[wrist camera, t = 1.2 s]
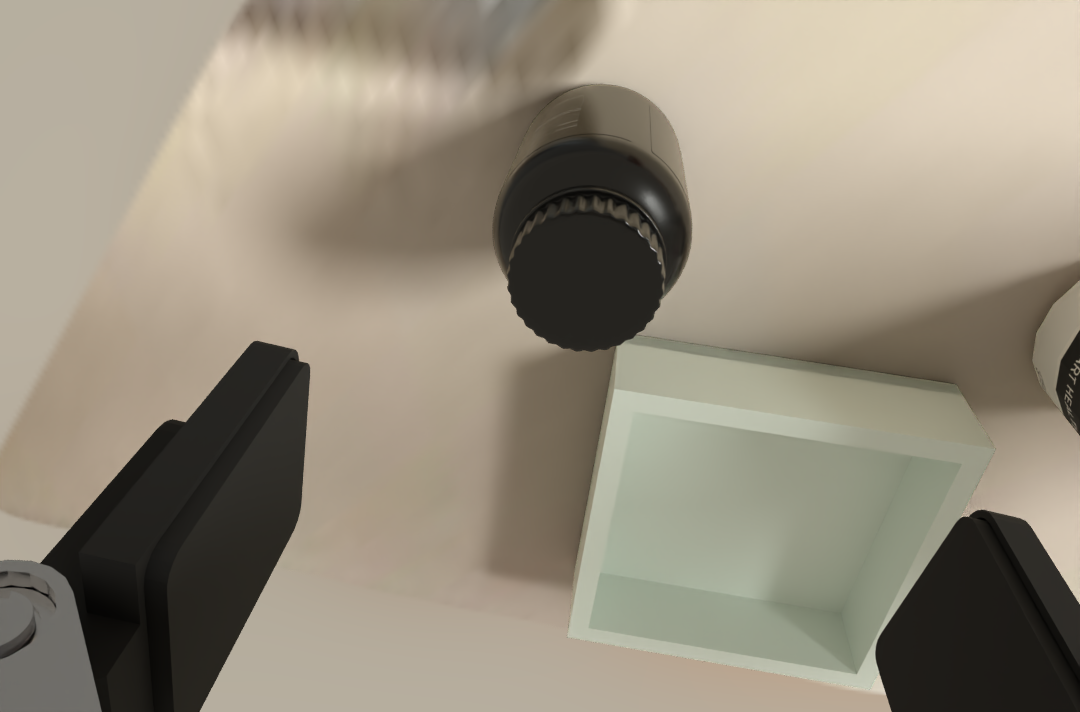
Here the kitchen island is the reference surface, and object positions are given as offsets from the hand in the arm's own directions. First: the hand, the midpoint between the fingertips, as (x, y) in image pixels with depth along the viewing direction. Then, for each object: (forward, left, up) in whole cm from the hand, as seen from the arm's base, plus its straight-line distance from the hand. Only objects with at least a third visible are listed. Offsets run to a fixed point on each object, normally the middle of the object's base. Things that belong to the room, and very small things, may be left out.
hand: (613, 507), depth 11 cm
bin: (-9, +19, -25) cm, 32 cm away
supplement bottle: (+1, +3, -25) cm, 25 cm away
